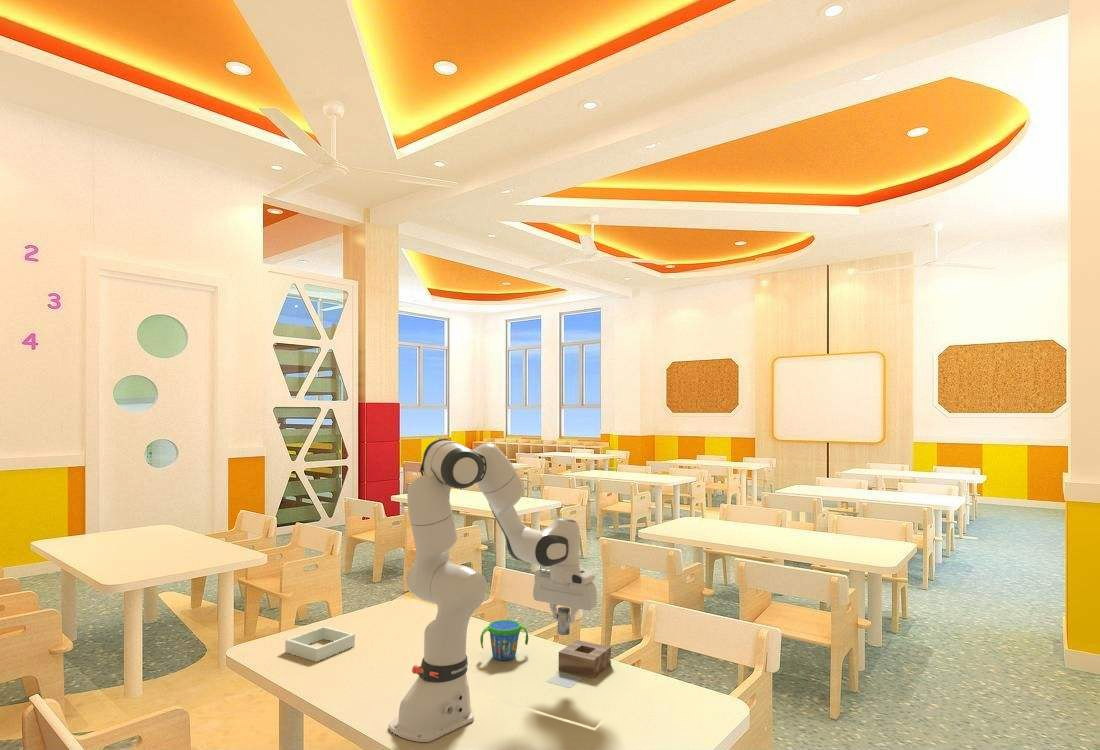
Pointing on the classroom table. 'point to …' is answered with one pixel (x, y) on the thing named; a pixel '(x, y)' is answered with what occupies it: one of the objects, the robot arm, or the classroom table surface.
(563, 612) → the pin
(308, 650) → the coaster tray
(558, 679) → the mount plate
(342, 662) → the classroom table surface
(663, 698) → the classroom table surface
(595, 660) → the socket block
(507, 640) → the snack cup
